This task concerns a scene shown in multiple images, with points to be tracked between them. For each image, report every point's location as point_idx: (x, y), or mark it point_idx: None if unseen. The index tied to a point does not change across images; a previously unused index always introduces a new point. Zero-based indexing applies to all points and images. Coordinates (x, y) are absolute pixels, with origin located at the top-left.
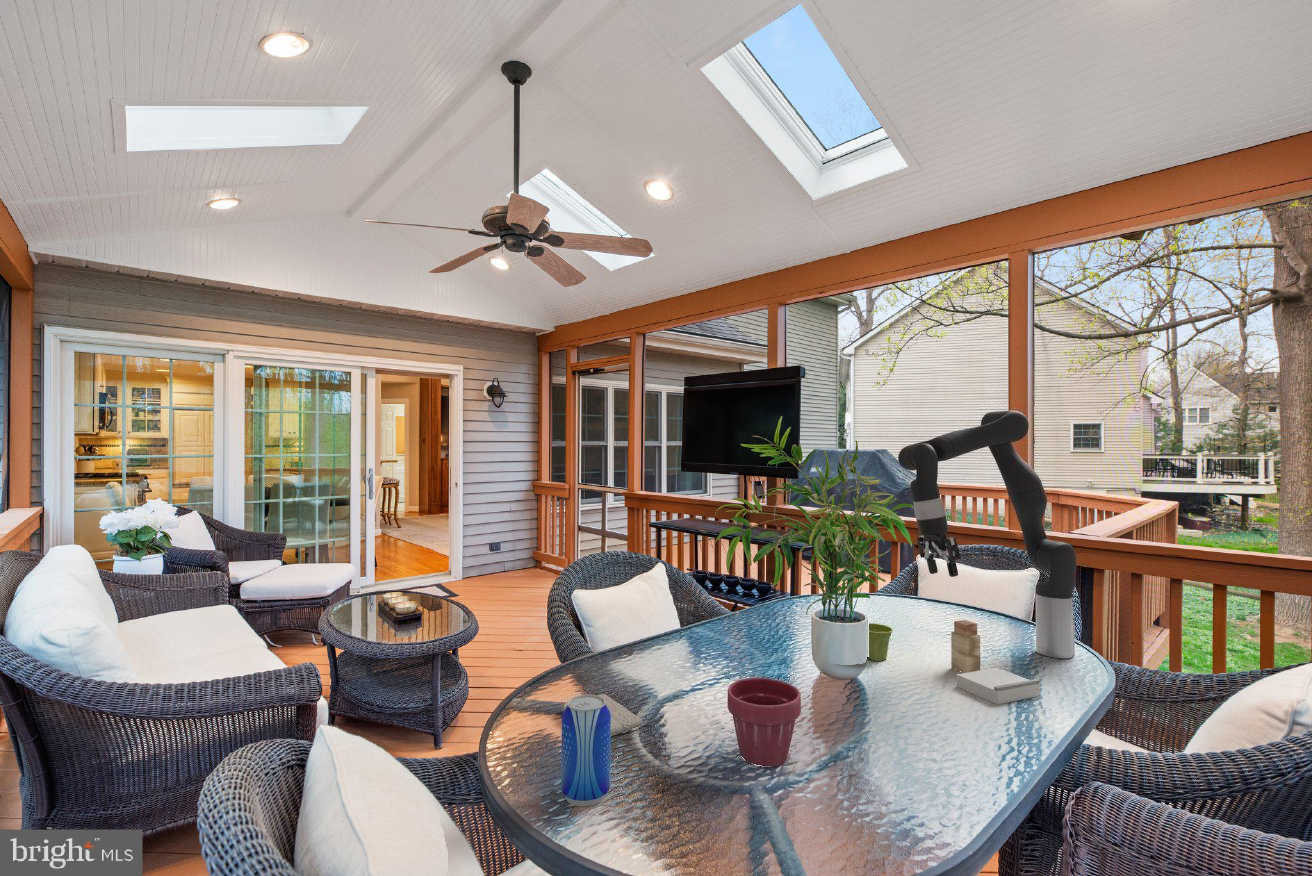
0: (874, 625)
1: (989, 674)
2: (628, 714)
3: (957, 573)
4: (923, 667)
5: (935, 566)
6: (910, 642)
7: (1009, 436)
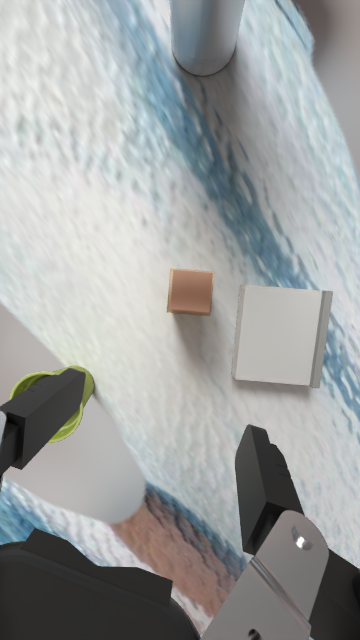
0: (21, 384)
1: (261, 328)
2: None
3: (276, 450)
4: (147, 348)
5: (61, 395)
6: (32, 252)
7: None
